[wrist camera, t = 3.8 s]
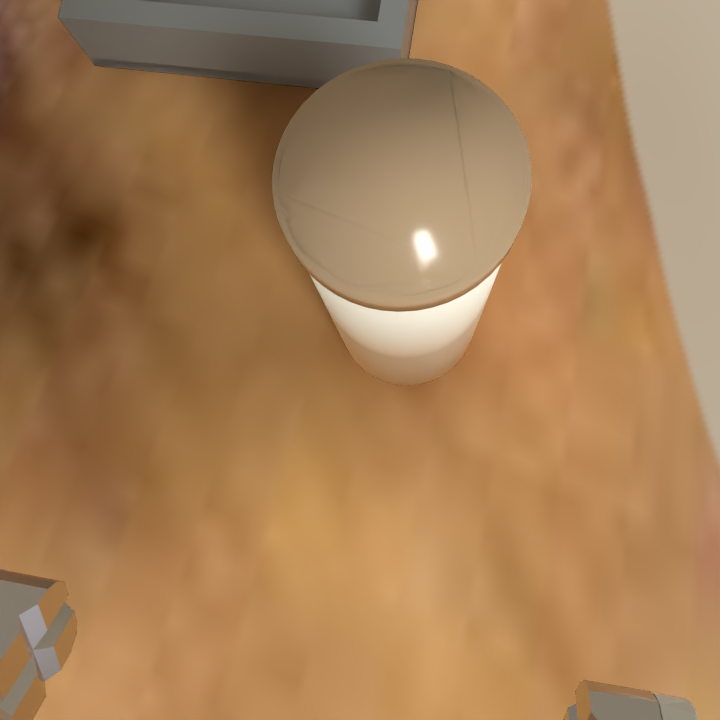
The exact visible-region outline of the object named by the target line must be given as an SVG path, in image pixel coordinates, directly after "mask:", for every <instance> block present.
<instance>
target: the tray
mask: <svg viewBox="0 0 720 720" xmlns="http://www.w3.org/2000/svg"><path fill="white" fill-rule="evenodd" d="M417 4H418V0H62V4H61V7H60V11H59V15H58V18H59V19H60V21H61V22H62V23H63V24H64V26H65V27H66V28H67V30H68V31H69V32H70V34H71V35H72V36H73V38H74V39H75V40H76V42H77V43H78V44H79V45H80V47H81V48H82V49H83V51H84V52H85V53H86V55H87V56H88V57H89V59H90V60H91V61H92V62H93V64H94V65H95V66H102V67H112V68H122V69H132V70H142V71H152V72H162V73H172V74H182V75H192V76H202V77H212V78H222V79H232V80H242V81H251V82H261V83H271V84H281V85H291V86H301V87H311V88H320V87H322V86H323V85H324V84H325V83H327V82H329V81H330V80H332V79H334V78H335V77H337V76H338V75H340V74H342V73H345V72H347V71H349V70H351V69H353V68H356V67H359V66H362V65H365V64H368V63H372V62H377V61H382V60H388V59H400V58H406V59H409V53H410V47H411V41H412V35H413V29H414V22H415V16H416V10H417Z"/></svg>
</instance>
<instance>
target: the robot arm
mask: <svg viewBox="0 0 720 720" xmlns="http://www.w3.org/2000/svg"><path fill="white" fill-rule="evenodd" d="M68 595H69V593H68V590H67V588H66V585H65V582H64V581H58V580H53V579H48V578H43V577H37V576H32V575H27V574H21V573H16V572H11V571H7V570H4V569H0V720H33V719H34V717H35V715H36V713H37V712H38V710H39V708H40V706H41V705H42V703H43V701H44V699H45V698H46V691H45V681H46V680H47V679H48V678H50V677H51V676H53V675H54V674H56V673H57V672H59V671H60V670H61V669H62V668H63V666H64V664H65V662H66V660H67V658H68V657H69V655H70V653H71V650H72V647H73V644H74V640H75V637H76V634H77V619H76V615H75V612H74V610H72V609H71V608H70V607H69V606H68V605H67V604H66V603H65V600H66V599H67V597H68ZM575 695H576V704H574V705H572V706H570V707H568V709H567V711H566V714H565V716H564V719H563V720H698V717H697V713H696V709H695V708H694V706H693V705H692V703H691V702H690V701H689V700H687V699H686V698H681V697H675V696H670V695H664V694H659V693H654V692H651V691H646V690H640V689H634V688H628V687H622V686H616V685H611V684H605V683H599V682H593V681H587V680H583V681H581V682H579V684H578V686H577V689H576V691H575Z"/></svg>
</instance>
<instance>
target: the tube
mask: <svg viewBox="0 0 720 720" xmlns="http://www.w3.org/2000/svg"><path fill="white" fill-rule="evenodd" d="M531 186H532V168H531V158H530V154H529V149H528V145H527V142H526V139H525V137H524V134H523V131H522V129H521V127H520V125H519V123H518V122H517V120H516V118H515V116H514V114H513V113H512V112H511V110H510V109H509V108H508V107H507V105H506V104H505V103H504V101H503V100H502V99H501V98H500V97H499V96H498V95H497V94H496V93H495V92H494V91H493V90H492V89H490V88H489V87H488V86H486V85H485V84H484V83H482V82H481V81H480V80H478V79H476V78H475V77H473V76H471V75H469V74H468V73H466V72H464V71H461V70H459V69H457V68H454V67H452V66H449V65H446V64H442V63H438V62H435V61H429V60H422V59H406V58H400V59H388V60H382V61H377V62H372V63H368V64H365V65H362V66H359V67H356V68H353V69H351V70H349V71H347V72H345V73H342V74H340V75H338V76H337V77H335V78H334V79H332V80H330V81H329V82H327V83H325V84H324V85H323V86H322V87H320V88H319V89H318V90H317V91H315V92H314V93H313V94H312V95H311V96H310V97H309V98H308V99H307V100H306V101H305V102H304V103H303V104H302V105H301V106H300V108H299V109H298V110H297V112H296V113H295V114H294V116H293V117H292V118H291V120H290V122H289V124H288V125H287V127H286V129H285V131H284V132H283V135H282V137H281V140H280V142H279V145H278V147H277V151H276V155H275V159H274V164H273V172H272V195H273V202H274V208H275V211H276V215H277V218H278V221H279V224H280V226H281V229H282V231H283V233H284V235H285V237H286V239H287V241H288V243H289V245H290V247H291V249H292V251H293V252H294V254H295V255H296V257H297V259H298V260H299V262H300V263H301V265H302V266H303V267H304V268H305V269H306V270H307V272H308V273H309V274H310V276H311V278H312V280H313V282H314V284H315V286H316V288H317V290H318V292H319V294H320V296H321V298H322V300H323V302H324V304H325V306H326V308H327V310H328V312H329V314H330V316H331V318H332V320H333V322H334V324H335V326H336V328H337V330H338V332H339V334H340V336H341V338H342V340H343V342H344V344H345V346H346V348H347V350H348V352H349V353H350V355H351V356H352V358H353V359H354V360H355V362H356V363H357V364H358V365H359V366H360V367H361V368H362V369H363V370H364V371H366V372H367V373H369V374H370V375H372V376H373V377H375V378H377V379H379V380H382V381H384V382H387V383H391V384H396V385H418V384H423V383H427V382H430V381H433V380H435V379H437V378H439V377H441V376H442V375H444V374H446V373H447V372H448V371H450V370H451V369H452V368H453V367H454V366H455V365H456V364H457V363H458V362H459V361H460V360H461V358H462V357H463V355H464V354H465V352H466V351H467V349H468V347H469V345H470V342H471V339H472V337H473V334H474V332H475V329H476V327H477V324H478V321H479V319H480V316H481V314H482V311H483V309H484V306H485V303H486V301H487V298H488V296H489V293H490V291H491V288H492V285H493V283H494V280H495V278H496V275H497V273H498V270H499V268H500V265H501V263H502V261H503V260H504V258H505V257H506V255H507V254H508V252H509V251H510V249H511V247H512V245H513V243H514V241H515V239H516V237H517V235H518V232H519V230H520V228H521V225H522V223H523V220H524V217H525V214H526V211H527V208H528V205H529V200H530V195H531Z"/></svg>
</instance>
